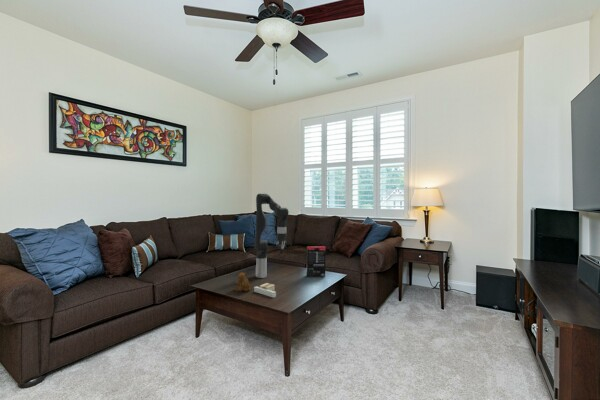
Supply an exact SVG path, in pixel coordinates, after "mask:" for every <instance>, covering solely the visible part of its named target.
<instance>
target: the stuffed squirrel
mask: <svg viewBox="0 0 600 400" xmlns="http://www.w3.org/2000/svg"><path fill="white" fill-rule="evenodd" d="M246 274H247V272H240V273H238V275H237V277H236V278H237V279H239V280H236V282H235V285H237V287H235V288H234V290H235V291H239V292H243V291H244V292H249V291H250V290H251V289H252V287H251V284H250V281H249V279H248V278H246Z"/></svg>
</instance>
